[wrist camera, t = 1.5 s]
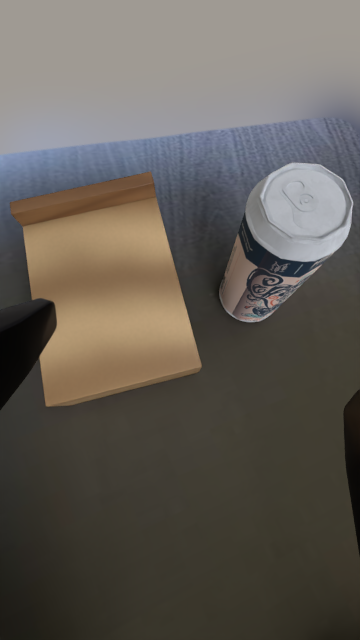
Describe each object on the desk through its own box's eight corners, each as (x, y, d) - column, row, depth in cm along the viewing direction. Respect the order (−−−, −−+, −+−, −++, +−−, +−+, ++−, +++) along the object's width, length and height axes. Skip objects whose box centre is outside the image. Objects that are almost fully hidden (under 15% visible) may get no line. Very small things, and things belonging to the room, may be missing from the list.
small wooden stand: (198, 372, 23) (203, 363, 17) (69, 405, 22) (33, 407, 17) (157, 217, 26) (151, 171, 21) (45, 243, 26) (9, 202, 20)
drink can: (239, 334, 23) (294, 270, 12) (207, 286, 24) (228, 184, 13) (289, 304, 24) (387, 215, 12) (255, 259, 25) (316, 137, 14)
